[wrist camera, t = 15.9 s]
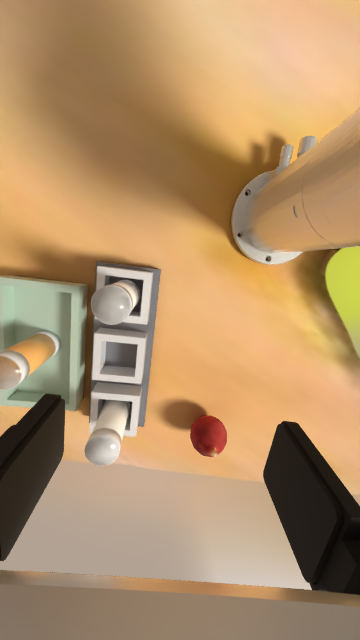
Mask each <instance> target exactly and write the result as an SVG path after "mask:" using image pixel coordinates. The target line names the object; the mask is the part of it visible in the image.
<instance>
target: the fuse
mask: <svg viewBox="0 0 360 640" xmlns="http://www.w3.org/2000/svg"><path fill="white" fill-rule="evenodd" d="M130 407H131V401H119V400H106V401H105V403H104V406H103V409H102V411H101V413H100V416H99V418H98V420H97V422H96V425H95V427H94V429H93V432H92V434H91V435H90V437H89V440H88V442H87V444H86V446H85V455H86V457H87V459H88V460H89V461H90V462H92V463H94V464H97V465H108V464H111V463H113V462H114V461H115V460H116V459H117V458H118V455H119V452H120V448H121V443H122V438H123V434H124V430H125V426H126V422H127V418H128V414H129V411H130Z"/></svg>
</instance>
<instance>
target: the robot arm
mask: <svg viewBox="0 0 360 640" xmlns="http://www.w3.org/2000/svg"><path fill="white" fill-rule="evenodd" d="M316 141H317V138H316V137H314V136H307V137H304V138H302V139H301V140H300V144H299V148H298V153H297V159H296V160H295V161H294V162H293V163H291V164H290V165H289V163H290V159H291V156H292V151H293V146H292V145H284V146H282V149H281V154H280V161H279V166H277V167H276V169H274V170H272V171H267V172H265V173H263V174H260V175H258V176H257V177H256V178H254V179H253V180H251V181H250V182H249V183H248V184H247V185H246V186H245V187H244V189H243V190H242V191H241V192H240V194H239V196H238V197H237V199H236V201H235V204H234V207H233V210H232V216H231V228H232V234H233V237H234V240H235V242H236V244H237V246H238V247H239V249H240V251H241V252H242V253H243V254H244V255H245V256H246V257H248V258H249V259H251V260H252V261H255V262H257V263H260V264H265V265H276V264H282V263H286V262H289V261H291V260H292V259H294V258H296V257H297V256H299V255H300V254H301V253H302V252H303V251H313V250H324V249H335V248H345V247H355V246H360V108H359V109H358V110H356V111H355V112H354V113H353V114H352V115H351V116H349V117H348V118H347V119H346V120H344V121H343V122H342V123H341V124H339V125H338V126H337V127H336V128H334V129H333V130H332V131H331V132H330V133H329V134H327V135H326V136H325V137H324V138H323V139H321V140H320V141H319V142H318V143H316ZM245 193H247V196H246V195H245ZM238 234H240V237H238ZM266 257H267V261H266ZM64 425H65V399H62V398H61V395H56V394H45V395H43V396H42V398H41V399H40V400H39V401H38V402H37V403H36V404H35V405H34V406H33V407H32V408H31V409H30V410H29V411H28V412H27V413H26V415H25V416H24V417H23V418H22V419H21V420H20V421H19V422H18V423H17V424H16V425H13V426H11V427H10V428H8V429H7V430H6V431H5V432H4V434H3V435H2V436H1V437H0V561H4V560H5V559H6V558H7V556H8V555H9V553H10V551H11V549H12V548H13V546H14V544H15V542H16V540H17V539H18V537H19V535H20V533H21V531H22V529H23V528H24V526H25V524H26V522H27V520H28V519H29V517H30V515H31V513H32V511H33V509H34V508H35V506H36V504H37V503H38V501H39V499H40V497H41V495H42V494H43V492H44V490H45V488H46V486H47V484H48V483H49V481H50V479H51V477H52V476H53V474H54V472H55V470H56V468H57V467H58V465H59V463H60V461H61V459H62V456H63V452H64ZM263 477H264V481H265V484H266V486H267V488H268V491H269V494H270V496H271V498H272V501H273V503H274V505H275V508H276V511H277V513H278V516H279V518H280V521H281V523H282V526H283V528H284V530H285V533H286V535H287V538H288V540H289V543H290V545H291V548H292V550H293V553H294V555H295V557H296V560H297V563H298V565H299V568H300V570H301V572H302V575H303V577H304V579H305V580H306V581H307V582H308V583H310V585H311V588H312V590H304V589H291V588H278V587H264V586H251V585H238V584H223V583H210V582H209V583H208V582H195V581H181V580H166V579H152V578H136V577H120V576H119V577H118V576H103V575H87V574H71V573H55V572H31V571H6V570H0V640H360V506H359V505H358V503H357V502H356V501H355V499H354V498H353V497H352V495H351V494H350V493H349V491H348V490H347V489H346V487H345V486H344V484H343V483H342V482H341V480H340V479H339V478H338V476H337V475H336V474H335V472H334V471H333V470H332V468H331V467H330V466H329V464H328V463H327V462H326V460H325V459H324V458H323V456H322V455H321V454H320V452H319V451H318V450H317V448H316V447H315V446H314V444H313V443H312V442H311V440H310V439H309V438H308V436H307V435H306V434H305V432H304V431H303V430H302V428H301V427H300V426H299V424H298V423H296V422H288V421H283V422H282V423H281V424H279V425H278V426H277V429H276V432H275V435H274V439H273V442H272V445H271V448H270V452H269V455H268V458H267V462H266V465H265V468H264V472H263Z"/></svg>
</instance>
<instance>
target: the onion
mask: <svg viewBox="0 0 360 640" xmlns="http://www.w3.org/2000/svg"><path fill="white" fill-rule="evenodd" d="M190 438H191V441H192V444H193V446H194V448H195V449H196V450H197V451H198V452H199V453H200V454H202V455H203V456H208V457H214V456H217V455H219V453H221V452H222V451H223V449H224V447H225V445H226V443H227V432H226V429H225V427H224V425H223V423H222V422H221V421H220V420H219V419H217V418H215V417H213V416H207V415H205V416H202V417H199V418H198V419H197V420H195V422H194V424H193V425H192V427H191V433H190Z"/></svg>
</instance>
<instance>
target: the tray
mask: <svg viewBox="0 0 360 640" xmlns="http://www.w3.org/2000/svg"><path fill="white" fill-rule="evenodd" d="M87 295H88V284H81V283H73V282H64V281H56V280H48V279H39V278H31V277H22V276H14V275H3V276H0V352H2V351H5V350H7V349H8V348H10V347H12V346H14V345H16V344H18V343H20V342H21V341H23V340H25V339H27V338H29V337H31V336H32V335H34V334H36V333H38V332H39V331H43V330H48V331H52V332H54V333H55V334H56V335H57V336H58V337H59V339H60V341H61V348H60V350H59V351H58V352H57V353H56V354H55V355H54V356H53V357H51V358H50V359H48V360H47V361H46V362H45V363H43V364H42V365H41V366H40V367H38V368H37V369H36V370H35V371H33V372H32V373H31V374H30V375H29V376H27V377H26V378H25V379H24V380H23V381H22V382H21V383H19V384H18V385H17V386H16V387H14V388H12V389H8V390H2V389H0V405H3V406H16V407H30V408H32V407H33V406H34V405H35V404H36V403H37V402H38V401H39V400H40V399H41V398H42V396H43V395H45V394H56V395H61V398H62V399H65V410H70V411H76V410H77V408H78V406H79V405H80V403H81V401H82V400H83V398H84V374H85V348H86V321H87Z"/></svg>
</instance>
